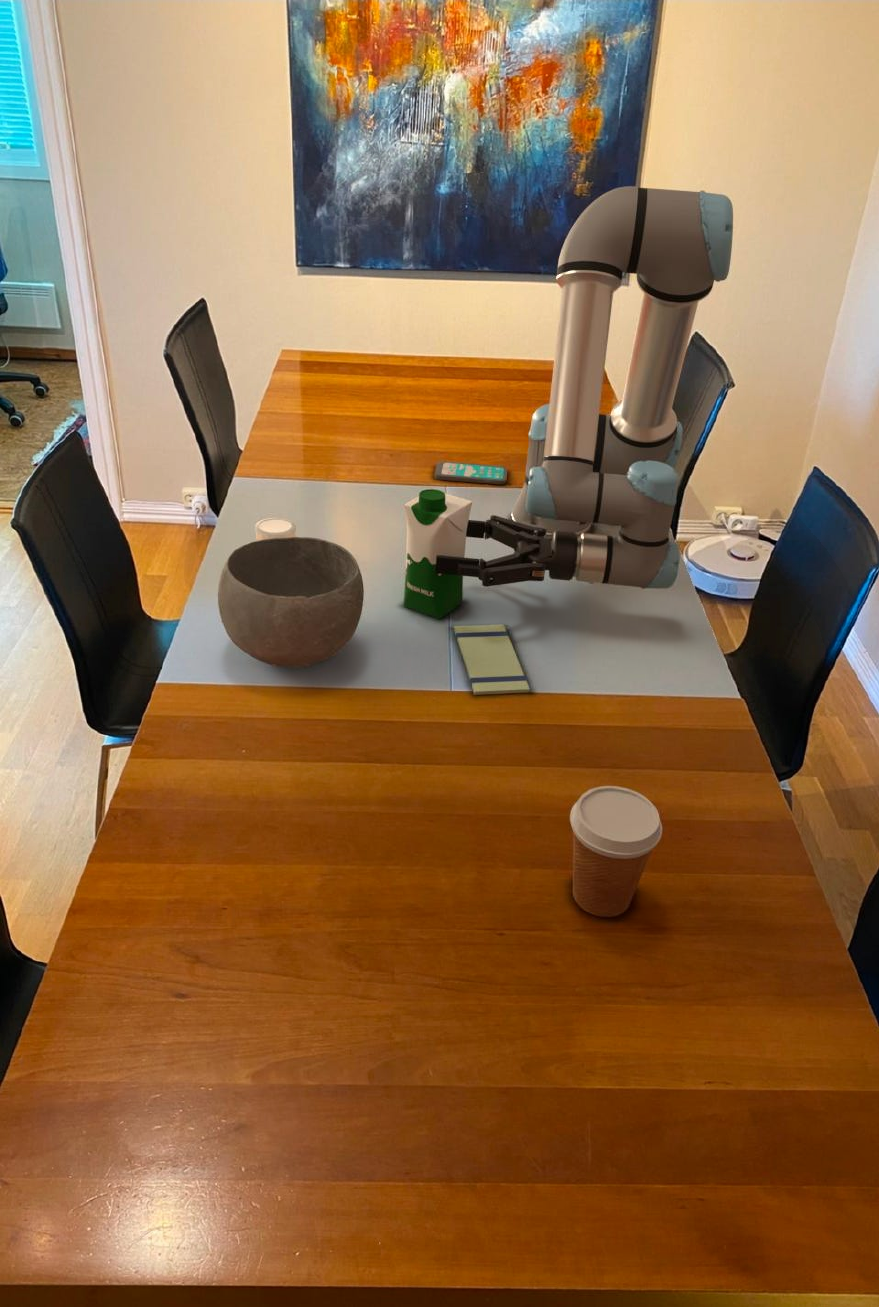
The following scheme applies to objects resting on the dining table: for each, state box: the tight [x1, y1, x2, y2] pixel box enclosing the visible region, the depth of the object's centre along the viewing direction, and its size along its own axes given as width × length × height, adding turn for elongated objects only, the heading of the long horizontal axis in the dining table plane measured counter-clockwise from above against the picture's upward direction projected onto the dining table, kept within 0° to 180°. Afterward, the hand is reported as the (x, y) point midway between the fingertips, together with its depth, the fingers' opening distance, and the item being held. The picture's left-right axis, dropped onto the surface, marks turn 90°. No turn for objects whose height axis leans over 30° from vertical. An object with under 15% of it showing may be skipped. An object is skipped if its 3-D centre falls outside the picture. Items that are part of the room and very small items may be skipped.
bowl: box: [217, 536, 365, 668], centre depth 142 cm, size 20×20×15 cm
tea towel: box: [453, 623, 531, 696], centre depth 147 cm, size 8×18×1 cm, turn 9°
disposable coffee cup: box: [569, 785, 663, 918], centre depth 105 cm, size 10×10×12 cm
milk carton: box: [403, 488, 473, 620], centre depth 155 cm, size 9×9×20 cm
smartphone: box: [433, 461, 508, 485], centre depth 207 cm, size 9×1×15 cm
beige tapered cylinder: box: [254, 517, 297, 541], centre depth 168 cm, size 7×7×7 cm
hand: (440, 544), depth 154 cm, fingers open, 13 cm apart
